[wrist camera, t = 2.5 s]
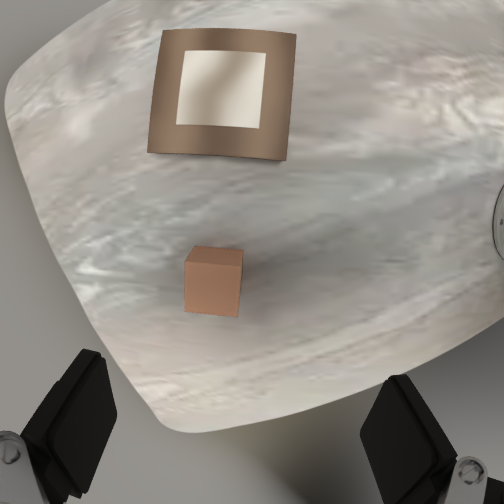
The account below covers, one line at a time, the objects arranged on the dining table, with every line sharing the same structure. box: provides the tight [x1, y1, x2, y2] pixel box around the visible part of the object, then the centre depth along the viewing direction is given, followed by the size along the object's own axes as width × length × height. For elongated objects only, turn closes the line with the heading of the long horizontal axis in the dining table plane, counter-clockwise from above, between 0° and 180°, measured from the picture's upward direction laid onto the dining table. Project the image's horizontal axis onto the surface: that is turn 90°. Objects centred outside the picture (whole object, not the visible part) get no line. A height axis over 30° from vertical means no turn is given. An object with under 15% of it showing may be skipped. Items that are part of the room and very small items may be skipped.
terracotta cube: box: [185, 246, 243, 317], centre depth 29 cm, size 5×5×5 cm
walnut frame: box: [147, 28, 296, 161], centre depth 24 cm, size 12×12×4 cm
